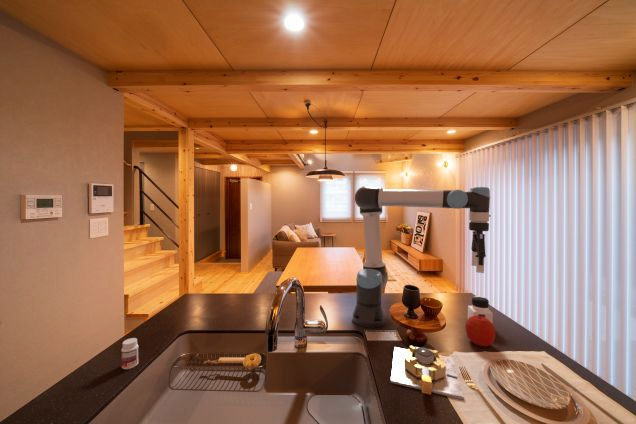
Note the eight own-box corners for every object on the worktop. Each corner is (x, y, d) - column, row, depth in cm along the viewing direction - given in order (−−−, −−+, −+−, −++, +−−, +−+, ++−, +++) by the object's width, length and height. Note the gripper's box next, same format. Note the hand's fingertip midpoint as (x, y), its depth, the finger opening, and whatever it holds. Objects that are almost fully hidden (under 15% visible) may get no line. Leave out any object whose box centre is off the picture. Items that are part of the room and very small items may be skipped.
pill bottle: (127, 361, 89) (127, 337, 89) (141, 360, 89) (141, 337, 89) (117, 370, 84) (117, 345, 84) (133, 369, 85) (132, 344, 85)
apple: (459, 338, 106) (460, 311, 106) (479, 336, 109) (480, 309, 108) (479, 352, 96) (480, 322, 96) (501, 349, 99) (502, 319, 98)
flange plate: (394, 348, 98) (394, 331, 98) (452, 359, 91) (453, 341, 91) (390, 382, 79) (391, 361, 79) (463, 399, 73) (464, 376, 72)
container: (492, 330, 114) (493, 301, 113) (473, 328, 115) (474, 300, 115) (485, 322, 121) (485, 295, 121) (467, 321, 123) (467, 294, 122)
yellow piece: (404, 352, 93) (404, 342, 93) (442, 360, 89) (442, 348, 89) (403, 388, 75) (403, 375, 75) (450, 399, 71) (451, 385, 71)
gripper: (495, 223, 101) (493, 277, 102) (483, 220, 124) (482, 264, 125) (473, 223, 104) (471, 274, 105) (465, 220, 127) (464, 262, 128)
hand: (477, 269), depth 115 cm, fingers open, 13 cm apart
